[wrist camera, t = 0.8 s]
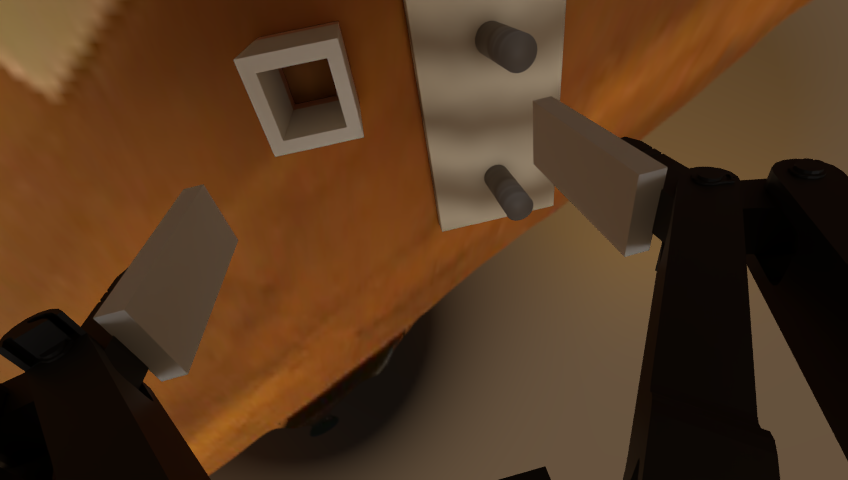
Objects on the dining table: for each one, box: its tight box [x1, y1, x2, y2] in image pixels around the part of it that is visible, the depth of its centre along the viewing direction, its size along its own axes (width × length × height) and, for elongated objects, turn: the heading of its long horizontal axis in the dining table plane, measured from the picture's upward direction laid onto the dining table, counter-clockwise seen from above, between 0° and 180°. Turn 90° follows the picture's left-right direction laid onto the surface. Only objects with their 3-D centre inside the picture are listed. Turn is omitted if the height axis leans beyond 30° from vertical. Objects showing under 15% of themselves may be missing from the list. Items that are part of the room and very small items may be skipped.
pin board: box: [403, 0, 566, 232], centre depth 31 cm, size 22×12×8 cm, turn 9°
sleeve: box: [234, 21, 364, 157], centre depth 26 cm, size 6×6×8 cm
